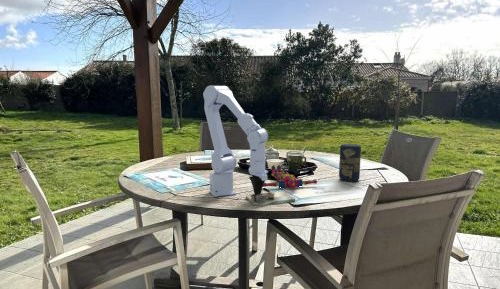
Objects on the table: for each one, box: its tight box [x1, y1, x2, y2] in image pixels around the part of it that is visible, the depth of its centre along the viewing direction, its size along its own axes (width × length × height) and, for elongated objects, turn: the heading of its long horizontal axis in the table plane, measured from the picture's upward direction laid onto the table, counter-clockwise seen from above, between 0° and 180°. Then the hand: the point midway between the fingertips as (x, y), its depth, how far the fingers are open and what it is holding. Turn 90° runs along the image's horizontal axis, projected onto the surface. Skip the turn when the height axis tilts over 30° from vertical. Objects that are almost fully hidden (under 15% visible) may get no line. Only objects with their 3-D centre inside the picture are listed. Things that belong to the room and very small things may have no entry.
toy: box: [262, 164, 318, 189], centre depth 167 cm, size 25×6×30 cm
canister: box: [338, 142, 362, 182], centre depth 171 cm, size 10×10×18 cm
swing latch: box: [250, 191, 274, 201], centre depth 137 cm, size 9×3×2 cm, turn 112°
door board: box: [245, 191, 296, 207], centre depth 141 cm, size 16×11×4 cm
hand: (257, 194), depth 141 cm, fingers closed
